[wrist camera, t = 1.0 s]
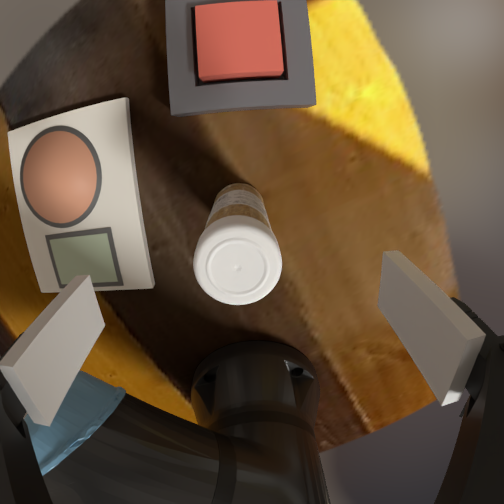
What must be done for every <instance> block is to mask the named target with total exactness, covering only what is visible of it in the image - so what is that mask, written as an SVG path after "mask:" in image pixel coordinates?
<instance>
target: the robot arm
mask: <svg viewBox="0 0 504 504" xmlns="http://www.w3.org/2000/svg"><path fill="white" fill-rule="evenodd" d="M378 307H379V309H380V310H381V312H382V313H383V315H384V316H385V318H386V319H387V321H388V322H389V324H390V325H391V327H392V328H393V330H394V331H395V333H396V334H397V336H398V337H399V339H400V340H401V342H402V343H403V345H404V346H405V348H406V350H407V351H408V353H409V354H410V356H411V357H412V359H413V361H414V362H415V364H416V365H417V367H418V368H419V370H420V372H421V373H422V375H423V377H424V378H425V380H426V381H427V383H428V385H429V386H430V388H431V390H432V391H433V393H434V395H435V396H436V398H437V400H438V401H439V403H440V404H441V406H444V405H446V404H449V403H452V402H456V401H458V400H460V397H461V395H462V393H463V391H464V389H465V388H466V389H467V390H468V392H469V393H470V396H469V398H468V400H467V402H466V404H465V406H464V408H463V410H462V412H461V414H460V417H462V416H463V419H462V423H461V427H460V431H459V434H458V438H457V442H456V444H455V448H454V451H453V454H452V457H451V460H450V463H449V466H448V469H447V472H446V475H445V477H444V480H443V483H442V485H441V488H440V490H439V493H438V495H437V498H436V500H435V502H434V504H504V336H497V335H496V334H495V333H494V332H493V331H492V330H491V329H490V328H489V327H488V326H487V325H486V324H485V323H484V322H483V321H482V320H481V319H480V318H478V316H477V315H476V314H475V313H474V312H472V310H471V309H470V308H469V307H468V306H467V305H466V304H465V303H463V302H461V301H460V300H458V299H456V298H454V297H453V298H449V297H448V296H447V295H446V294H445V293H444V292H443V291H442V290H441V289H440V288H439V287H438V286H437V285H436V284H435V283H434V282H433V281H431V280H430V279H429V278H428V277H427V276H426V275H425V274H424V273H423V272H422V271H421V270H420V269H419V268H417V267H416V266H415V265H414V264H413V263H412V262H411V261H410V260H409V259H407V258H406V257H405V256H404V255H403V254H402V253H401V252H400V251H398V250H397V251H386V252H383V260H382V271H381V281H380V290H379V298H378ZM104 327H105V323H104V320H103V317H102V314H101V311H100V308H99V305H98V302H97V298H96V295H95V292H94V288H93V285H92V282H91V278H90V275H77V276H75V277H74V278H73V279H72V280H71V281H70V282H69V284H68V285H67V286H66V287H65V288H64V289H63V290H62V291H61V292H60V293H59V294H58V295H57V296H56V297H55V298H54V299H53V300H52V302H51V303H50V304H49V305H48V306H47V307H46V308H45V309H44V310H43V311H42V313H41V314H40V315H39V316H38V317H37V318H36V319H35V320H34V322H33V323H32V324H31V325H30V326H29V327H28V328H27V330H26V331H25V332H23V333H22V334H20V335H19V337H18V338H17V339H16V340H15V341H14V344H12V345H11V346H10V347H9V350H7V351H6V352H5V353H4V355H3V356H2V357H1V358H0V504H330V499H329V495H328V490H327V486H326V482H325V477H324V473H323V469H322V464H321V460H320V456H319V452H318V447H317V443H316V439H315V434H314V425H315V420H316V414H317V409H318V403H319V398H320V386H319V382H318V378H317V374H316V371H315V369H314V367H313V365H312V363H311V362H310V361H309V359H308V358H307V357H306V356H304V355H303V354H302V353H300V352H299V351H297V350H296V349H294V348H292V347H289V346H287V345H284V344H280V343H276V342H270V341H245V342H239V343H234V344H231V345H228V346H225V347H222V348H220V349H218V350H216V351H214V352H213V353H211V354H210V355H208V356H207V357H206V358H205V359H204V360H203V361H202V362H201V363H200V364H199V366H198V367H197V369H196V371H195V373H194V376H193V381H192V387H191V402H192V406H193V409H194V412H195V416H196V419H197V422H198V425H197V424H195V423H192V422H189V421H187V420H185V419H182V418H180V417H177V416H175V415H173V414H170V413H168V412H166V411H163V410H161V409H159V408H157V407H154V406H152V405H150V404H148V403H146V402H144V401H142V400H139V399H137V398H135V397H133V396H131V395H129V394H127V393H126V390H125V389H123V388H122V387H114V386H112V385H110V384H108V383H106V382H104V381H102V380H100V379H98V378H96V377H94V376H92V375H90V374H88V373H86V372H83V371H80V368H81V366H82V364H83V363H84V361H85V359H86V357H87V356H88V354H89V352H90V350H91V349H92V347H93V345H94V344H95V342H96V340H97V338H98V337H99V335H100V333H101V332H102V330H103V328H104ZM26 412H27V413H28V414H27V415H26V417H25V419H23V417H24V415H25V413H26ZM463 414H464V415H463Z"/></svg>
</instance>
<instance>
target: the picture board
mask: <svg viewBox="0 0 504 504" xmlns="http://www.w3.org/2000/svg"><path fill="white" fill-rule="evenodd" d="M8 141H9V150H10V159H11V166H12V173H13V180H14V186H15V192H16V197H17V203H18V208H19V212H20V217H21V222H22V226H23V230H24V234H25V238H26V242H27V246H28V250H29V254H30V257H31V261H32V264H33V268H34V271H35V274H36V277H37V281H38V284H39V287H40V290H41V293H52V292H61V291H62V290H63V289H64V288H65V287H66V286H67V285H68V284H69V282H70V281H71V280H72V279H73V278H74V277H75V276H77V275H90V278H91V282H92V285H93V288H94V291H108V290H130V289H150V288H153V287H154V285H155V281H154V276H153V271H152V266H151V261H150V256H149V250H148V245H147V239H146V234H145V228H144V222H143V216H142V210H141V203H140V196H139V189H138V182H137V175H136V167H135V158H134V150H133V140H132V130H131V119H130V107H129V98H126V97H124V98H120V99H115V100H111V101H107V102H102V103H98V104H94V105H91V106H87V107H83V108H79V109H76V110H72V111H69V112H65V113H62V114H59V115H56V116H52V117H49V118H46V119H43V120H40V121H37V122H34V123H31V124H29V125H26V126H23V127H20V128H18V129H15V130H12V131H10V132H8Z"/></svg>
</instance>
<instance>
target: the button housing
mask: <svg viewBox="0 0 504 504" xmlns="http://www.w3.org/2000/svg"><path fill="white" fill-rule="evenodd" d="M240 1H263V0H165V12H166V43H167V64H168V81H169V96H170V109H171V115H173V116H178V117H183V116H191V115H199V114H208V113H218V112H229V111H241V110H256V109H276V108H308V107H311V106H314V105H316V92H315V79H314V67H313V56H312V45H311V36H310V26H309V18H308V9H307V2H306V0H277V4H278V14H279V24H280V34H281V45H282V57H283V69H284V71H283V73H282V74H281V75H280V77H279V78H257V79H241V80H228V81H217V82H208V83H203V81H202V80H201V79H200V78H199V70H198V54H197V36H196V17H195V6H198V5H206V4H216V3H226V2H240Z"/></svg>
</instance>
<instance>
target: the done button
mask: <svg viewBox="0 0 504 504" xmlns="http://www.w3.org/2000/svg"><path fill="white" fill-rule="evenodd" d="M195 17H196V36H197V54H198V70H199V78H200V79H201V80H202V81H203V83H208V82H217V81H228V80H241V79H257V78H279V77H280V75H281V74H282V73H283V71H284V69H283V57H282V45H281V34H280V24H279V14H278V4H277V0H263V1H240V2H226V3H216V4H206V5H198V6H195Z"/></svg>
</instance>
